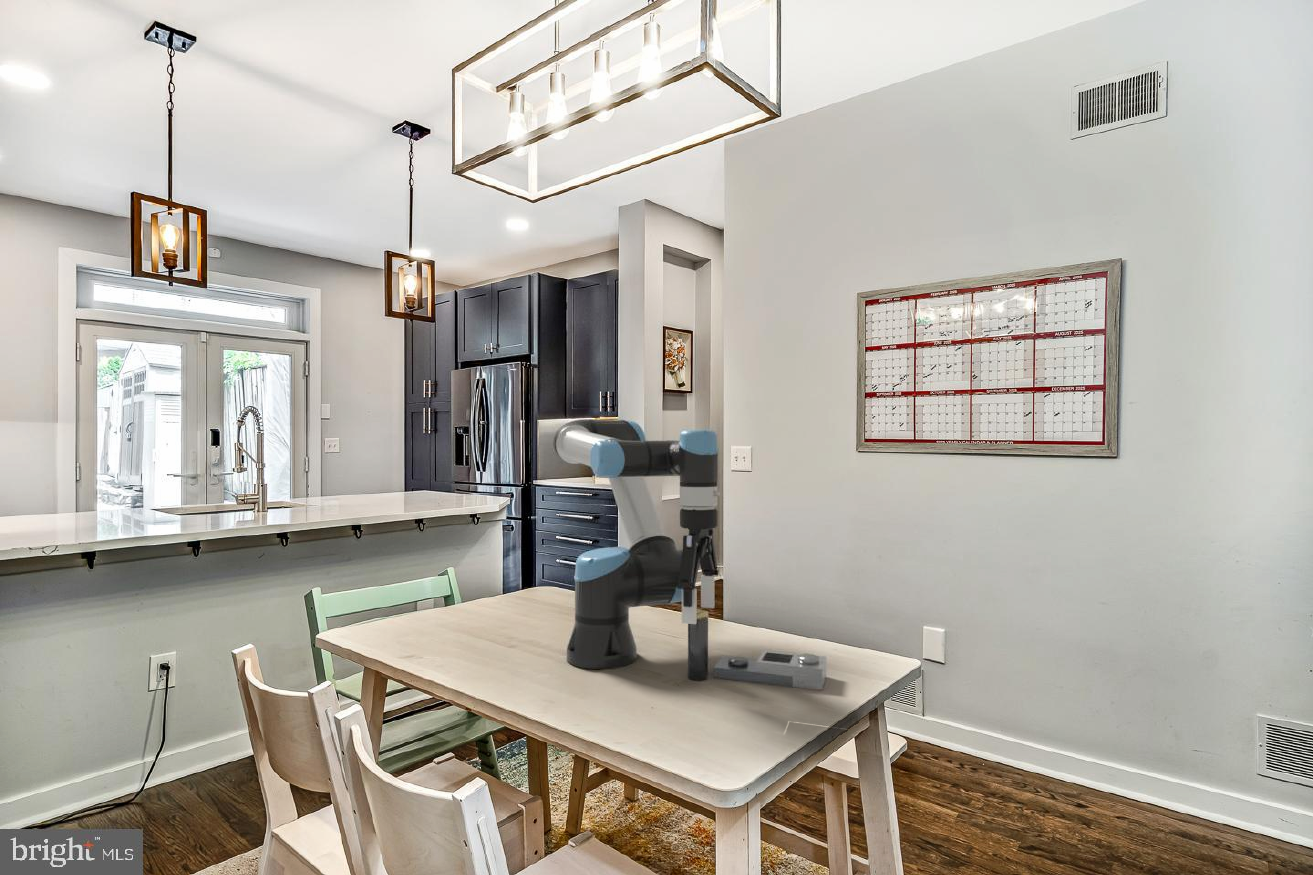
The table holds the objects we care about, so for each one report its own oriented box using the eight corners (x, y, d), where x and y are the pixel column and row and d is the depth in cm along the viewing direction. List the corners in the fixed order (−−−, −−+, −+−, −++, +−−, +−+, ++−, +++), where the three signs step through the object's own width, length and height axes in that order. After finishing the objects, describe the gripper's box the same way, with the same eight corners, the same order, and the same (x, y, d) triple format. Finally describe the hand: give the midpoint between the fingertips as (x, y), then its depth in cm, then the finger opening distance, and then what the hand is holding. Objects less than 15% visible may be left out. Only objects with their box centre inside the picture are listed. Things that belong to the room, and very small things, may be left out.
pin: (685, 679, 134) (685, 613, 134) (691, 672, 138) (691, 608, 138) (705, 681, 133) (705, 615, 133) (710, 675, 137) (710, 610, 137)
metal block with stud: (713, 677, 135) (713, 653, 135) (723, 664, 143) (723, 642, 143) (822, 690, 129) (822, 664, 129) (826, 676, 136) (826, 652, 136)
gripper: (700, 514, 123) (700, 632, 122) (731, 503, 146) (731, 602, 146) (660, 512, 125) (660, 628, 125) (697, 502, 149) (697, 600, 148)
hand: (698, 615), depth 135 cm, fingers open, 13 cm apart
